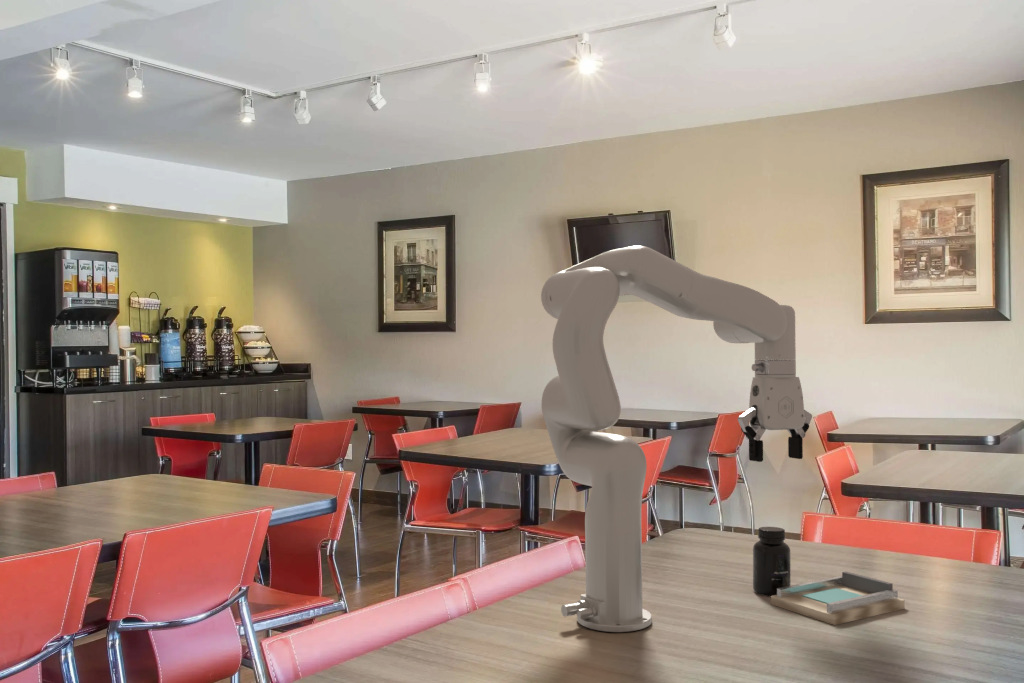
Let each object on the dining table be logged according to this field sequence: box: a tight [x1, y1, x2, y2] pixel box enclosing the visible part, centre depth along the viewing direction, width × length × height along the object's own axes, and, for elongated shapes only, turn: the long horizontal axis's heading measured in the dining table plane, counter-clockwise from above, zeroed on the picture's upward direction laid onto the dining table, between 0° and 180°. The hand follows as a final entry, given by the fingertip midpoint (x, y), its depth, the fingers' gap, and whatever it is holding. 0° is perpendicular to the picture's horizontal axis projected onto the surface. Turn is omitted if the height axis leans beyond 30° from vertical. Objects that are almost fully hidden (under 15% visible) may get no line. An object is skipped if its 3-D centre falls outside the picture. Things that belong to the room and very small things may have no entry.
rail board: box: [770, 571, 906, 626], centre depth 154 cm, size 18×14×4 cm
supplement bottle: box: [752, 526, 791, 597], centre depth 163 cm, size 7×7×12 cm
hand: (776, 459), depth 164 cm, fingers open, 9 cm apart
